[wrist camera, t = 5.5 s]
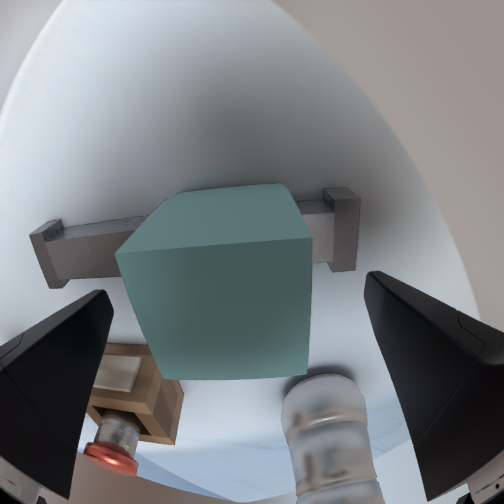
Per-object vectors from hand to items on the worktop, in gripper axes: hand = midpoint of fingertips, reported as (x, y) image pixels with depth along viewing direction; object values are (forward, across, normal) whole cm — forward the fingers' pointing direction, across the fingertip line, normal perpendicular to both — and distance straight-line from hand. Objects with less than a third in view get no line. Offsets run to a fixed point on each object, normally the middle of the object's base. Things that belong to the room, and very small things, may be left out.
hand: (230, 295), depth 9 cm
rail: (+6, +3, 0) cm, 7 cm away
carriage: (+6, 0, 0) cm, 6 cm away
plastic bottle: (+6, -5, +14) cm, 16 cm away
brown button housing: (+6, +9, +11) cm, 16 cm away
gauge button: (+3, +9, +11) cm, 15 cm away
